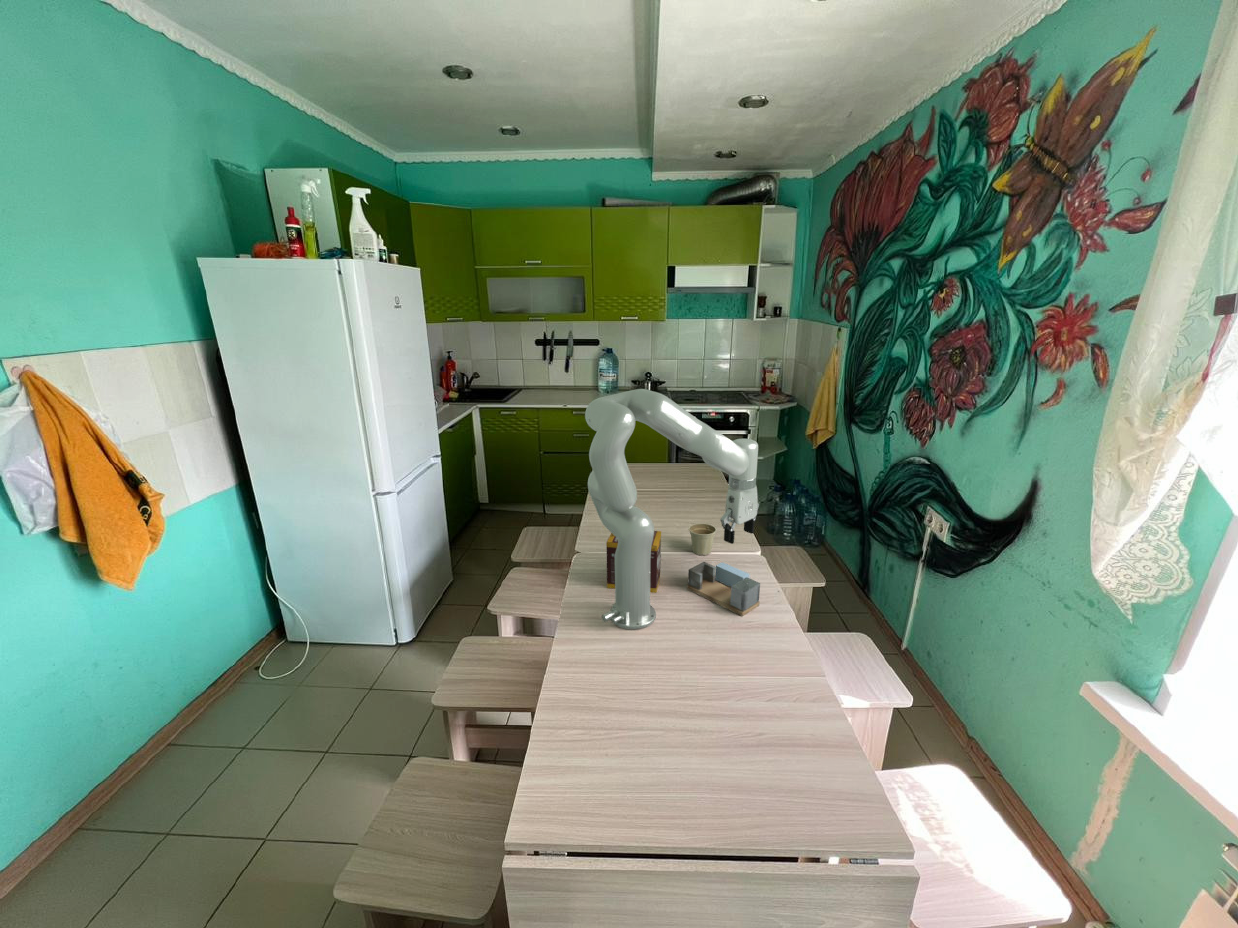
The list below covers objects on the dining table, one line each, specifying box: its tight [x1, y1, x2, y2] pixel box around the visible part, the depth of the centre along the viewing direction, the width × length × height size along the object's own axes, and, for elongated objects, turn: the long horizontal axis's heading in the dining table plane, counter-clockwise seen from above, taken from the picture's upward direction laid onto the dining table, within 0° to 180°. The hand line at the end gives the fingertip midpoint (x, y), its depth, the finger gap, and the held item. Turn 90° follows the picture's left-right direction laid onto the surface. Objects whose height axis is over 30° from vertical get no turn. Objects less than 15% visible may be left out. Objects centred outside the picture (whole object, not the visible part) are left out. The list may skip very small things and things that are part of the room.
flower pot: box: [688, 522, 717, 556], centre depth 178 cm, size 9×9×9 cm
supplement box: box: [605, 530, 662, 594], centre depth 158 cm, size 10×15×16 cm
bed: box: [686, 561, 760, 617], centre depth 151 cm, size 20×8×6 cm, turn 42°
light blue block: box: [715, 562, 750, 588], centre depth 158 cm, size 10×3×5 cm, turn 42°
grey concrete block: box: [730, 577, 761, 611], centre depth 145 cm, size 4×7×6 cm, turn 132°
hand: (738, 536), depth 153 cm, fingers open, 9 cm apart
